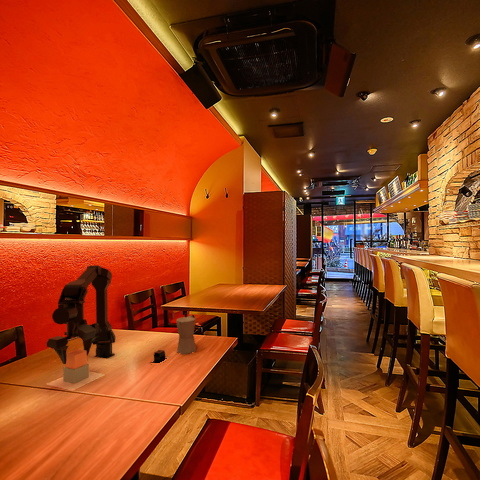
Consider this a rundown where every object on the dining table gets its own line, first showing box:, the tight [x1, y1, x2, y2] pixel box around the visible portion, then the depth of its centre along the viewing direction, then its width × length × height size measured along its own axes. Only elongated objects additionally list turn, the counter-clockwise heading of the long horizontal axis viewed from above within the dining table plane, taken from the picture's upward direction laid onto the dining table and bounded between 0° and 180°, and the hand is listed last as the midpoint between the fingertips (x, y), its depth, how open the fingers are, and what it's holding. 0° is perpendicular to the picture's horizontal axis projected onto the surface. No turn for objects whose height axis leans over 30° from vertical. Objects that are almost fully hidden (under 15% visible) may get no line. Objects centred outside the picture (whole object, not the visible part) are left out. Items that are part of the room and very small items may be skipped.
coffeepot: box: [175, 312, 197, 355], centre depth 147 cm, size 15×9×18 cm, turn 162°
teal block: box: [62, 363, 90, 384], centre depth 115 cm, size 6×6×5 cm
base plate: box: [45, 370, 106, 392], centre depth 115 cm, size 14×14×1 cm
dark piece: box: [150, 349, 167, 363], centre depth 135 cm, size 12×7×5 cm, turn 157°
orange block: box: [64, 349, 88, 369], centre depth 115 cm, size 5×5×5 cm
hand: (76, 359), depth 115 cm, fingers open, 9 cm apart
